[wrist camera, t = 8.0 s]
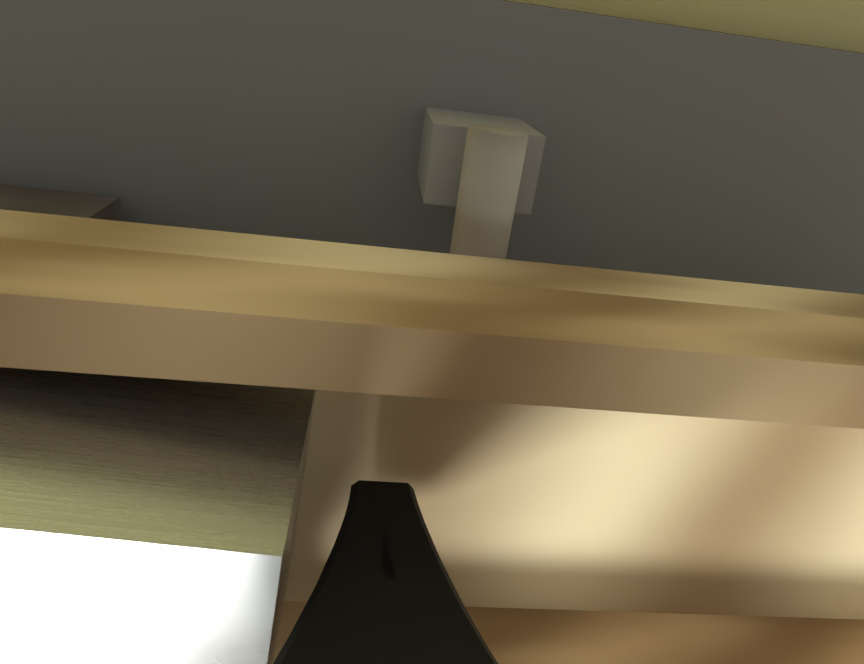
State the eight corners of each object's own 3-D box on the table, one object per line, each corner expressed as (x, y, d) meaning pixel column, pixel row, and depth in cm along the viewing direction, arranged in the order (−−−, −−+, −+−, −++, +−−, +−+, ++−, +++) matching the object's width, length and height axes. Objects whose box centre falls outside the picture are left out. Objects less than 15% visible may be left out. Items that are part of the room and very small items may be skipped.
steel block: (319, 364, 10) (281, 556, 6) (286, 587, 12) (244, 824, 9) (-22, 314, 9) (-278, 499, 6) (7, 561, 11) (-167, 809, 8)
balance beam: (1011, 177, 14) (1407, 278, 8) (803, 572, 19) (967, 789, 14) (-190, 26, 11) (-729, 33, 6) (-49, 537, 16) (-262, 790, 11)
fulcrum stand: (1071, 86, 15) (1245, 103, 12) (807, 580, 22) (874, 669, 19) (-284, -114, 11) (-519, -160, 8) (-80, 549, 18) (-169, 651, 15)
